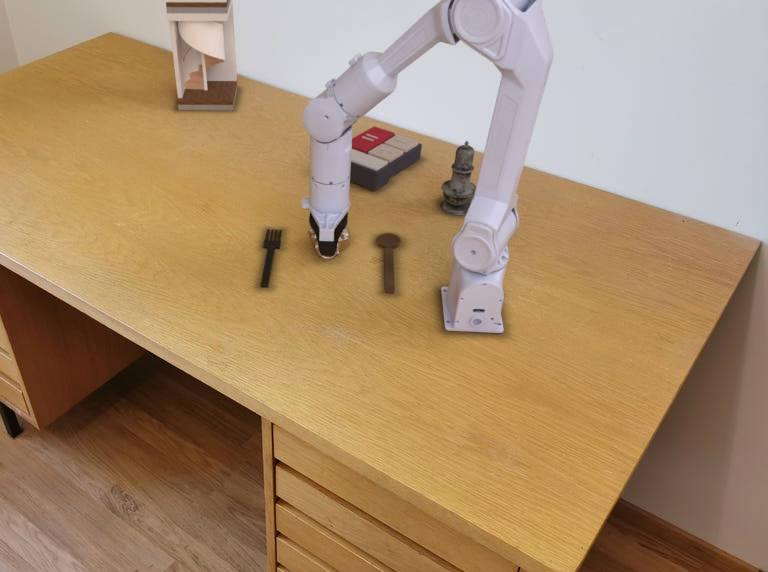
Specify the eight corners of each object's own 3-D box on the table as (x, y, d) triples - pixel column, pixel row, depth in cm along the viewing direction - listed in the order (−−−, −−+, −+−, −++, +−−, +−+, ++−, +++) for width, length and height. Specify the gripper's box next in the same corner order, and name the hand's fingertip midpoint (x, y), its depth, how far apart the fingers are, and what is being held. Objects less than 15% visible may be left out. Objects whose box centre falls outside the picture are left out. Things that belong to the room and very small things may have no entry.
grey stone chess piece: (473, 217, 124) (485, 151, 116) (437, 214, 125) (447, 148, 116) (474, 199, 128) (486, 133, 120) (439, 196, 129) (449, 130, 121)
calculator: (423, 140, 136) (377, 168, 127) (420, 162, 139) (375, 191, 130) (373, 123, 141) (326, 149, 132) (371, 144, 144) (324, 172, 135)
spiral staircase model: (178, 110, 154) (156, -82, 130) (185, 88, 162) (165, -97, 138) (233, 110, 154) (221, -82, 130) (237, 88, 162) (226, -97, 138)
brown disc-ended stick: (401, 293, 109) (402, 290, 109) (377, 292, 110) (377, 289, 109) (399, 236, 120) (400, 233, 120) (377, 235, 120) (377, 232, 120)
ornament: (317, 228, 122) (317, 209, 119) (357, 237, 120) (358, 217, 118) (299, 255, 117) (299, 235, 114) (340, 264, 115) (341, 245, 112)
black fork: (273, 287, 111) (273, 285, 110) (255, 287, 111) (255, 285, 111) (282, 231, 122) (282, 229, 121) (266, 230, 122) (266, 228, 121)
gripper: (305, 148, 110) (304, 226, 120) (297, 200, 100) (297, 281, 109) (352, 150, 110) (348, 228, 119) (350, 202, 99) (345, 283, 109)
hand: (327, 254), depth 114 cm, fingers closed
